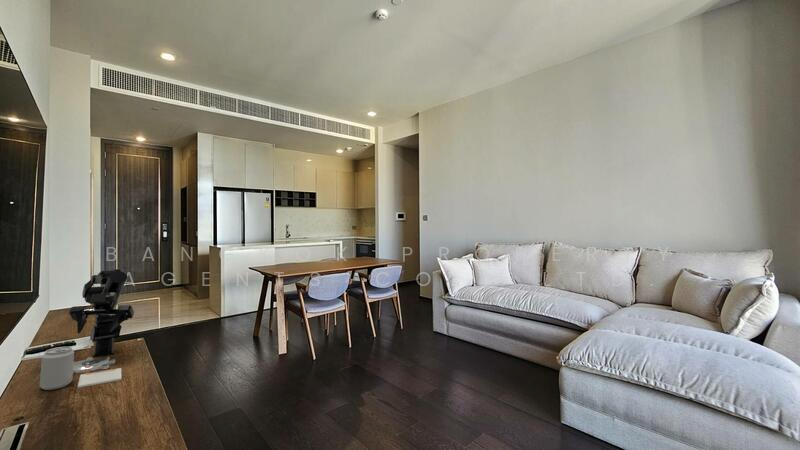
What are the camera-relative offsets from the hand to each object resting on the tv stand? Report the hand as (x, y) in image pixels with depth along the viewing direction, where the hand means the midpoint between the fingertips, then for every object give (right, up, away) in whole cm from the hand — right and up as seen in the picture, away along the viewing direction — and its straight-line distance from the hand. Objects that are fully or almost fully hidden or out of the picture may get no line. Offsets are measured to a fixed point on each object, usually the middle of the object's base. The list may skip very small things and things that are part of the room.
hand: (94, 332), depth 125 cm
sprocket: (-3, -13, +1) cm, 14 cm away
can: (+1, -13, -15) cm, 20 cm away
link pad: (+9, -14, -8) cm, 18 cm away
